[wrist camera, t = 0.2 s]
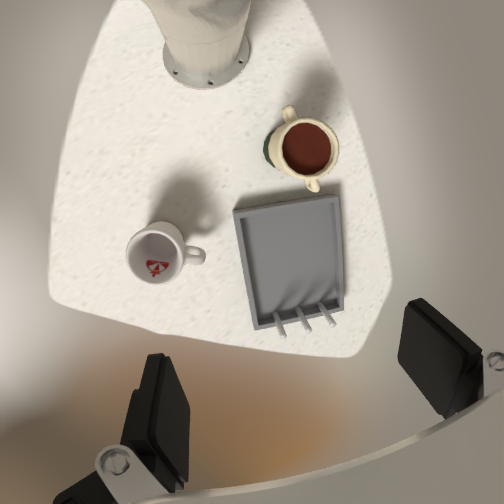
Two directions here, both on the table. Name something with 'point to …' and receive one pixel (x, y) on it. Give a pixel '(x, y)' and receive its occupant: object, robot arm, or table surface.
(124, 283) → the table surface
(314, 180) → the character mug
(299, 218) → the dish rack
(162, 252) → the cup
